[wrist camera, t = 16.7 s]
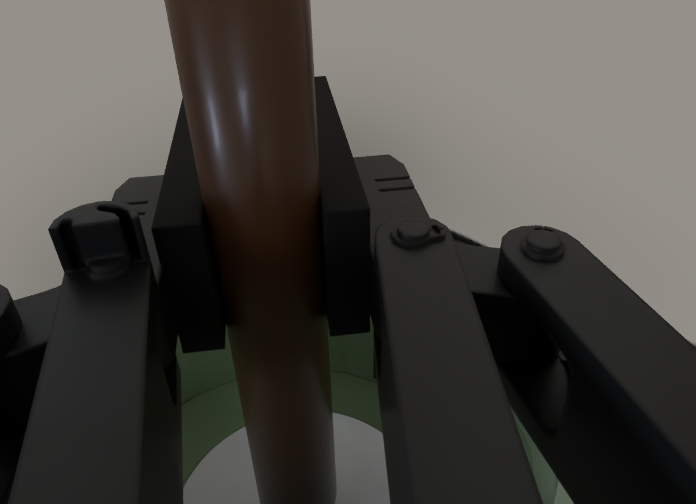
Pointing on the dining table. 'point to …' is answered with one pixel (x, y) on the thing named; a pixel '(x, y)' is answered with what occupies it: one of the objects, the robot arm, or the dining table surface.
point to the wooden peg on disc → (268, 257)
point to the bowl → (347, 398)
